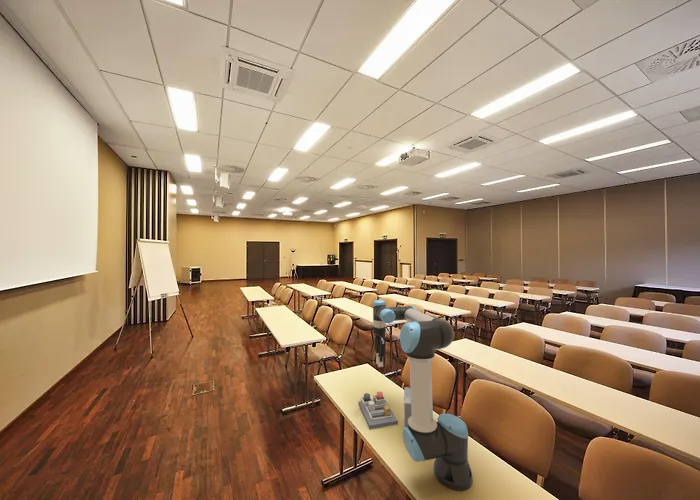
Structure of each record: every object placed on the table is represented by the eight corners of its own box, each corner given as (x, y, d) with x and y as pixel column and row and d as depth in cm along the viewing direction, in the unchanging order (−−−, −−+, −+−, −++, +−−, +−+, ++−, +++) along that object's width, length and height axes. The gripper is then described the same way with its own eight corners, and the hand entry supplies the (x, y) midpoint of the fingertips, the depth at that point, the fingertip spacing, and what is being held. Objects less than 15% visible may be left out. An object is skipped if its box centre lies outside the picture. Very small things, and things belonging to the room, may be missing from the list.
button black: (370, 401, 155) (370, 396, 155) (364, 402, 154) (364, 397, 154) (368, 398, 159) (368, 392, 158) (363, 398, 158) (363, 393, 158)
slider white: (374, 410, 150) (374, 403, 150) (369, 411, 149) (369, 404, 149) (373, 407, 153) (373, 400, 153) (368, 408, 152) (368, 401, 152)
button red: (383, 399, 157) (383, 394, 157) (377, 400, 156) (377, 395, 156) (381, 396, 160) (381, 391, 160) (375, 397, 160) (375, 391, 159)
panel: (397, 424, 142) (397, 415, 142) (369, 429, 138) (369, 419, 138) (383, 400, 163) (383, 392, 163) (358, 404, 160) (358, 396, 159)
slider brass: (390, 415, 145) (390, 408, 145) (385, 416, 145) (385, 409, 145) (388, 412, 148) (388, 405, 148) (383, 413, 148) (383, 406, 148)
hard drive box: (420, 446, 126) (420, 405, 126) (403, 443, 128) (403, 403, 127) (418, 424, 142) (418, 387, 141) (403, 422, 143) (403, 386, 143)
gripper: (390, 330, 150) (390, 370, 151) (380, 322, 166) (380, 358, 166) (377, 331, 149) (378, 372, 149) (369, 322, 164) (369, 360, 165)
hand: (379, 365), depth 158 cm, fingers open, 3 cm apart
